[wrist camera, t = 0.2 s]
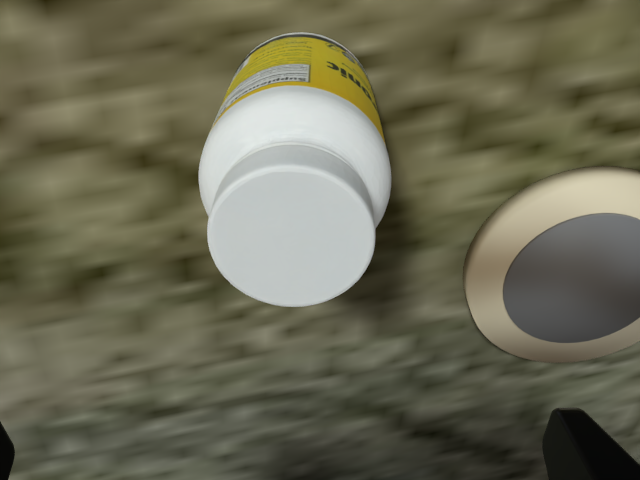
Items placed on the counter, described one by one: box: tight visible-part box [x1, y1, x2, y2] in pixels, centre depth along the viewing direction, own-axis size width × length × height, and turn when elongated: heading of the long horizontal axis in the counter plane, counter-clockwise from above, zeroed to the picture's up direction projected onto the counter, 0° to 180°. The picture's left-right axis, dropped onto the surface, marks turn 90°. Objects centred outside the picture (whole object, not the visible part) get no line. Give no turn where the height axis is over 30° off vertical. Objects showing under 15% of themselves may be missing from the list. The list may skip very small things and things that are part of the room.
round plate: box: [463, 166, 640, 363], centre depth 25 cm, size 10×10×1 cm
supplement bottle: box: [199, 32, 391, 307], centre depth 17 cm, size 5×5×10 cm
